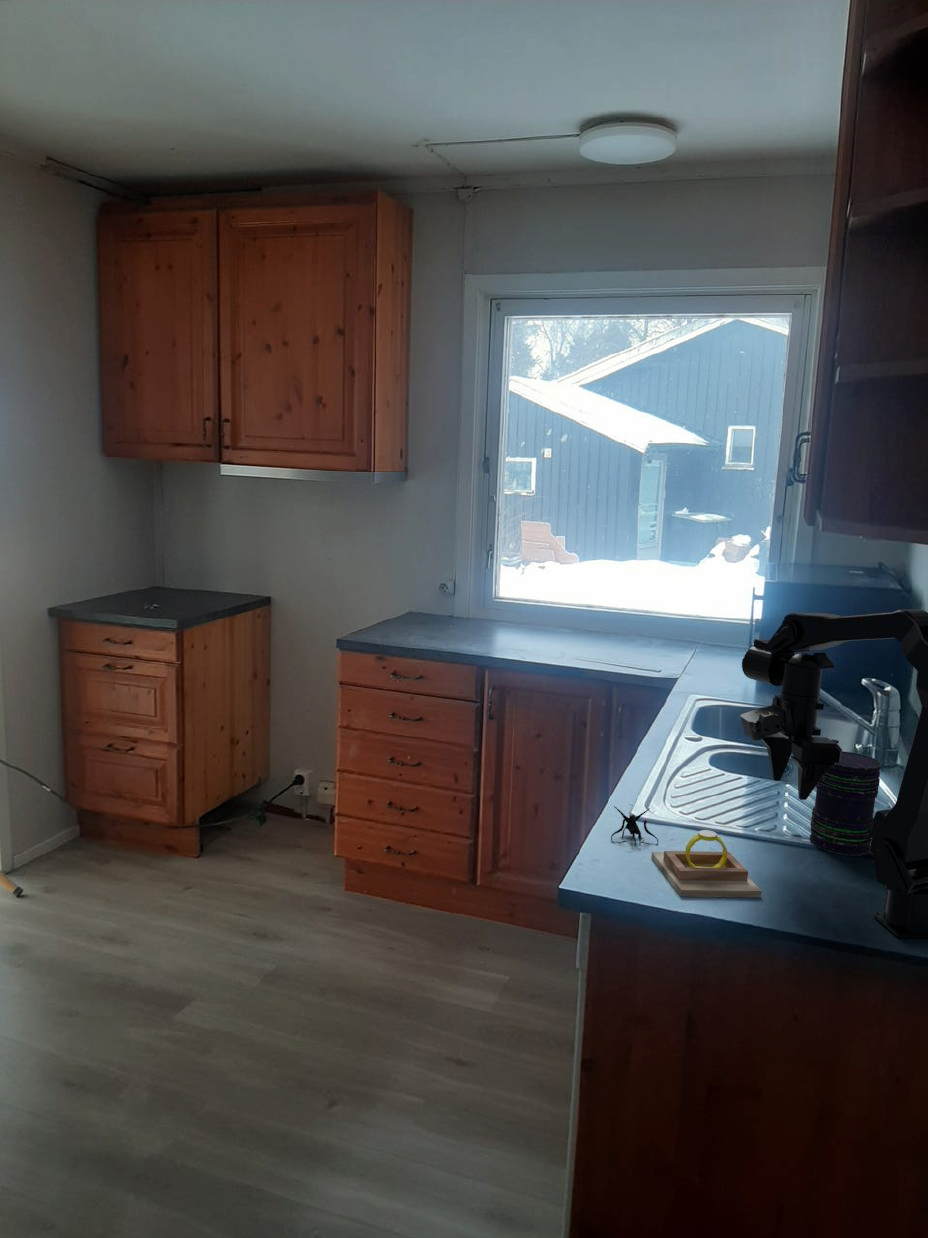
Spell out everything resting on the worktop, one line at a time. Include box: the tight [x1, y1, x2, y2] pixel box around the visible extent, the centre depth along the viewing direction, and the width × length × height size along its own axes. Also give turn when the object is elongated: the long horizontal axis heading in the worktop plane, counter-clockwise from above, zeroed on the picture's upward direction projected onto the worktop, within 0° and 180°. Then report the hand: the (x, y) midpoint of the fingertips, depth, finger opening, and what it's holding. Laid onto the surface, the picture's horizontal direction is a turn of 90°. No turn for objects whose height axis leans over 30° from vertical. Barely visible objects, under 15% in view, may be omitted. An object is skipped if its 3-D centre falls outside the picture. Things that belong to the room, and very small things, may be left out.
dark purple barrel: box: [809, 739, 882, 857], centre depth 157 cm, size 10×10×18 cm
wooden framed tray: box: [650, 850, 763, 898], centre depth 141 cm, size 14×12×2 cm
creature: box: [610, 806, 659, 847], centre depth 154 cm, size 8×5×8 cm
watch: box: [684, 829, 728, 868], centre depth 141 cm, size 6×3×6 cm, turn 88°
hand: (789, 789), depth 147 cm, fingers open, 9 cm apart
